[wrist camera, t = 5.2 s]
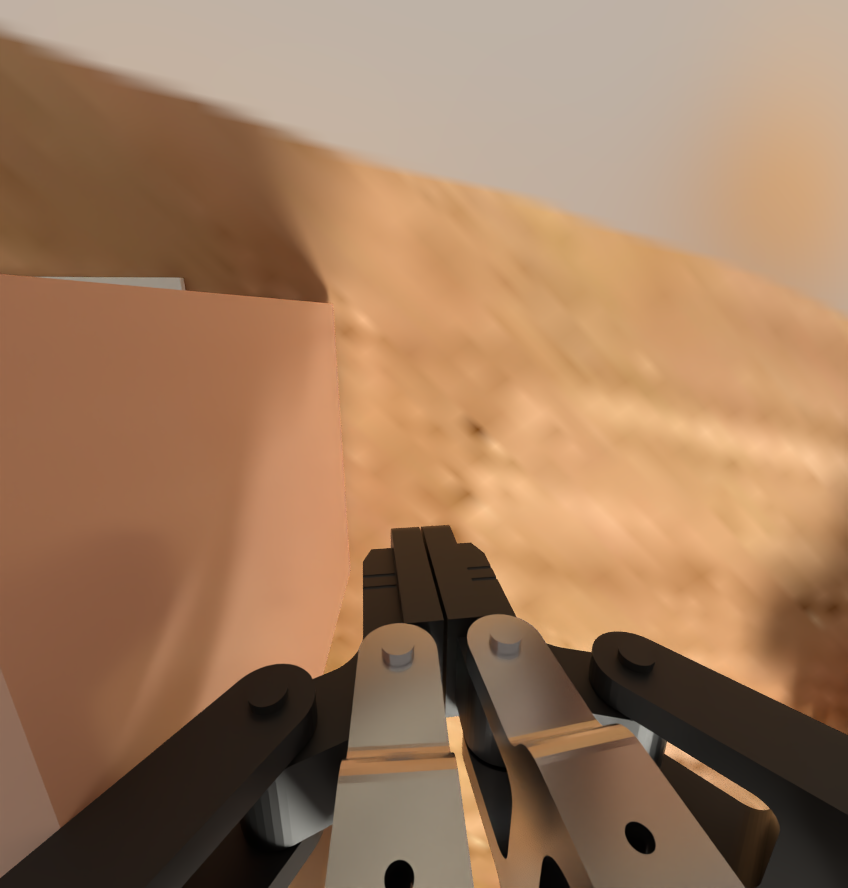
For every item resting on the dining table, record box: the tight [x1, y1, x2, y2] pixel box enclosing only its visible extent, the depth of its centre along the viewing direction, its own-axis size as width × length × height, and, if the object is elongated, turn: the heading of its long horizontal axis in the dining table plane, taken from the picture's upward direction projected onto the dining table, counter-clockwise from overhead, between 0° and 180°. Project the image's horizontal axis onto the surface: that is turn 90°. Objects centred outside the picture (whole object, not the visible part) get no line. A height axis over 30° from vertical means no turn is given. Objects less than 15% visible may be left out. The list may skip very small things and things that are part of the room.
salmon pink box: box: [0, 274, 350, 878], centre depth 12 cm, size 5×13×16 cm, turn 0°
